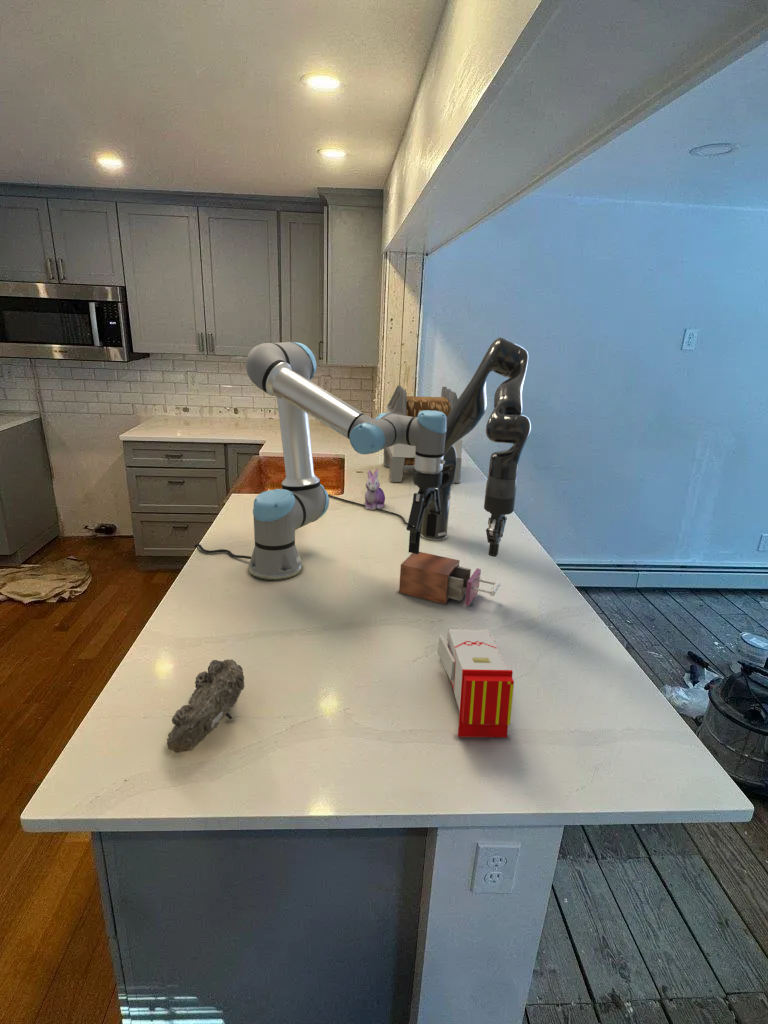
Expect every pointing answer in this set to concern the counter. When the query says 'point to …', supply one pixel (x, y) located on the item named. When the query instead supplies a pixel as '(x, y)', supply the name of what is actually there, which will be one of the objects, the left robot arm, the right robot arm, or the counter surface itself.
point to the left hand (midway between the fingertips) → (422, 544)
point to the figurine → (374, 492)
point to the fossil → (206, 705)
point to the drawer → (467, 584)
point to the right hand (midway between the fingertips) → (493, 555)
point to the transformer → (411, 407)
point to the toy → (478, 682)
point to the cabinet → (426, 576)
